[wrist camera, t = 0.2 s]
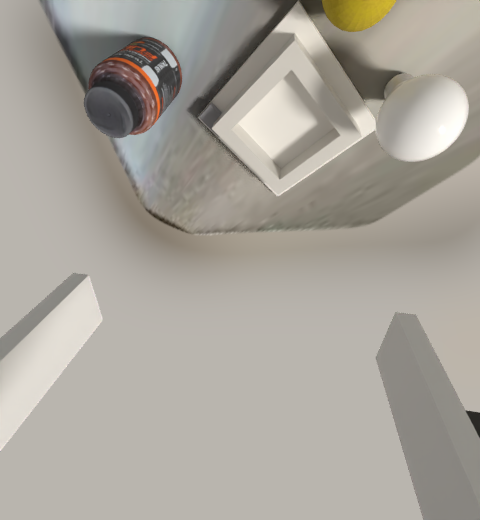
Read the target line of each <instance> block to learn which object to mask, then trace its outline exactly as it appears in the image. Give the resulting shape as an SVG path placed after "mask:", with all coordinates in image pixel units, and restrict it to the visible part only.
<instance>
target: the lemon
mask: <svg viewBox="0 0 480 520" xmlns="http://www.w3.org/2000/svg"><path fill="white" fill-rule="evenodd" d="M395 2H396V0H322V5H323V9H324V11H325V13H326V16H327V18H328V19H329V20H330V21H331V22H332V24H333V25H334V26H336V27H338V28H339V29H341V30H344V31H348V32H356V31H362V30H365V29H367V28H370V27H372V26H373V25H375V24H376V23H377V22H379V21H380V20H381V19H382V18H383V17H384V16H385V15H386V14H387V13H388V12H389V11H390V9H391V8H392V6H393V5H394V3H395Z"/></svg>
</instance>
